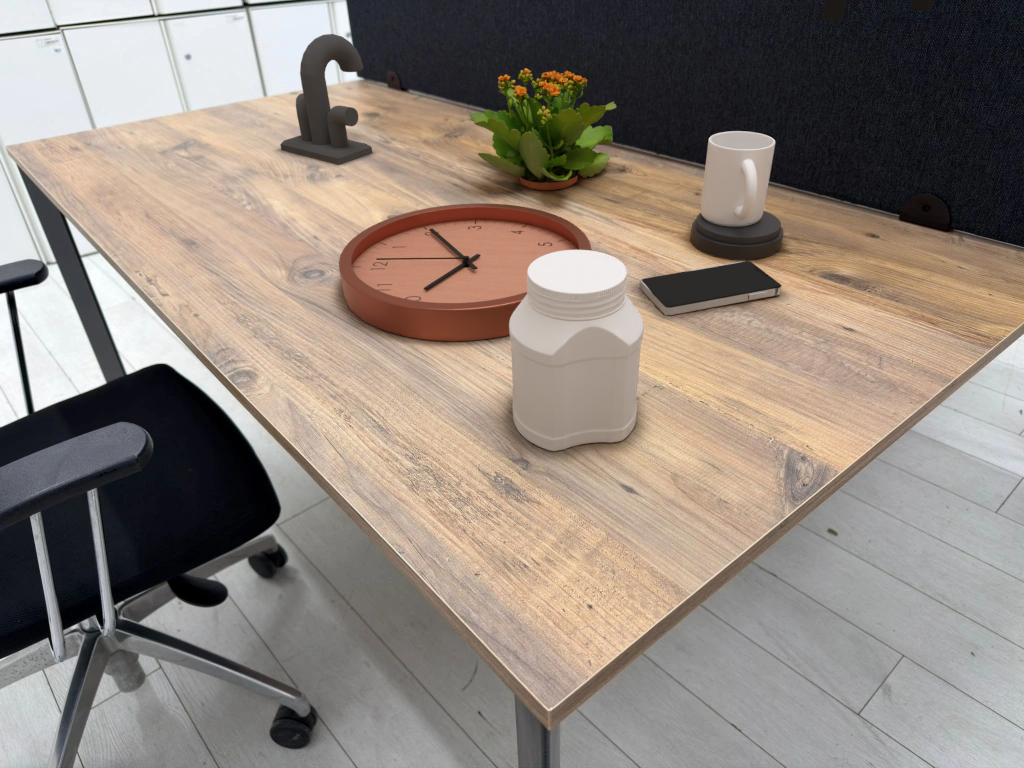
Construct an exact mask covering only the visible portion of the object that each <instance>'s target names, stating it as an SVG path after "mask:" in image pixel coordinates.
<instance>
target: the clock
mask: <svg viewBox="0 0 1024 768" xmlns="http://www.w3.org/2000/svg"><path fill="white" fill-rule="evenodd" d="M564 250H590V251H592V245H591V242H590V240H589V238H588V236H587V235H586V233H585V232H584V230H582V229H580V227H578V226H577V225H575V224H574V223H572V222H571V221H569V220H567V219H565V218H564V217H561V216H559V215H556V214H553V213H551V212H547V211H545V210H542V209H541V210H540V209H537V208H532V207H528V206H521V205H513V204H506V203H505V204H503V203H485V202H483V203H481V202H476V203H457V204H445V205H439V206H433V207H427V208H421V209H417V210H412V211H408V212H405V213H401V214H398V215H395V216H392V217H390V218H387V219H385V220H381V221H379V222H377V223H374V224H373V225H371V226H369V227H368V228H366V229H364V230H362V231H360V233H357V234H356V235H355V236H354V237H353V238H352V239H351V240H349V242H348V243H347V244H346V245H345V247H344V248H343V249H342V251H341V253H340V256H339V258H338V259H339V260H338V270H339V275H340V280H341V286H342V291H343V296H344V300H345V303H346V304H347V306H348V307H349V309H350V311H352V313H354V315H356V317H358V318H359V319H360V320H362V321H364V322H365V323H367V324H369V325H371V326H372V327H374V328H376V329H379V330H382V331H384V332H388V333H391V334H394V335H398V336H400V337H405V338H411V339H418V340H424V341H425V340H426V341H435V342H436V341H438V342H469V341H470V342H471V341H481V340H488V339H489V340H490V339H497V338H503V337H507V336H510V333H509V321H510V318H511V315H512V314H513V312H514V311H515V309H516V308H517V307H518V305H519V304H520V303H521V301H522V300H523V299H524V297H525V296H526V295H527V290H528V289H527V284H528V283H527V270H528V267H529V266H530V264H531V263H532V262H533V261H534V260H536V259H537V258H539V257H541V256H544V255H546V254H549V253H553V252H557V251H564Z"/></svg>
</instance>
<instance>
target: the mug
mask: <svg viewBox="0 0 1024 768" xmlns="http://www.w3.org/2000/svg"><path fill="white" fill-rule="evenodd" d="M775 147H776V140H775V139H774V138H773V137H771V136H769V135H767V134H764V133H760V132H755V131H743V130H732V131H723V132H718V133H714V134H712V135H710V137H708V141H707V148H706V157H705V167H704V173H703V183H702V190H701V200H700V213H701V214H702V216H703V217H704V219H706V220H707V221H709V222H711V223H713V224H716V225H721V226H727V227H743V226H749V225H752V224H754V223H756V222H758V221H759V220H760V219H761V217H762V215H763V211H765V206H766V201H767V200H766V199H767V194H768V188H769V182H770V177H771V171H772V165H773V159H774V154H775V149H776V148H775Z"/></svg>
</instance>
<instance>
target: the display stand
mask: <svg viewBox="0 0 1024 768" xmlns="http://www.w3.org/2000/svg"><path fill="white" fill-rule="evenodd" d="M689 238H690V243H691V245H692V246H693V247H694V248H695V249H697V251H700V252H701V253H704V254H706V255H709V256H711V257H715V258H720V259H724V260H725V259H726V260H732V261H753V260H761V259H765V258H768V257H771V256H774V255H775V254H777V253H778V252H779V251H780V250H781V247H782V243H783V238H784V227H782V223H781V220H780V218H778V217H777V216H775V215H774V214H772V213H771V212H768V211H765V210H764V211H763V215H762V217H761V219H760V220H759V221H758V222H756V223H754V224H752V225H749V226H743V227H727V226H721V225H716V224H713V223H711V222H709V221H707V220H706V219H704V217H703V216H702V214H701V212H700V213H699V214H698V215H697V216H696V219H694V221H693V222H692V223H691V230H690V237H689Z"/></svg>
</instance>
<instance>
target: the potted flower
mask: <svg viewBox="0 0 1024 768" xmlns="http://www.w3.org/2000/svg"><path fill="white" fill-rule="evenodd" d="M497 79H498V81H497V84H498V85H497V87H498V89H499V90H498V93H500V94H502V95H504V96H505V97H506V101H507V106H508V107H507V109H508V111H509V112H508V111H506V110H505V109H504V110H502V109H500V110H498V111H497V112H496V113H495V111H493V110H492V109H487V110H485V111H484V113H483V112H482V111H476V112H475V113H474V114H473V113H472V112H471V111H469V113H468V116H469V118H470V120H471V121H472V122H473V123H474V125H475V126H478V127H481V128H484V129H486V130H488V131H489V132H492V133H493V135H492V142H493V143H492V148H493V149H494V150H495V154H496V155H493V154H491V153H488V152H477V155H478V156H479V157H480V158H481V160H483V161H485V162H486V163H488V165H491V166H492V167H494V168H496V169H497V170H500V171H502V172H505V173H508V174H510V175H513V176H518V177H519V180H520V184H521V185H522V186H524V187H527V188H529V189H531V190H537V191H557V190H562V189H566V188H568V187H571V186H572V185H574V184H576V183H577V181H578V176H582V178H584V179H586V178H587V177H589V178H590V177H594V176H595V174H599V173H601V172H602V170H603V169H605V168H606V166H607V165H608V163H609V160H610V159H611V156H610V155H609V154H608V153H606V152H603V151H602V152H601V151H599V152H597V151H595V150H594V149H596V147H597V146H599V145H602V146H603V145H606V146H611V145H613V141H614V138H613V127H612V126H611V125H604V126H602V125H598V126H594V127H593V126H592V124H595V123H597V122H599V121H600V120H601V119H602V118H603V117H604V115H605V113H606V112H609V111H612V110H615V109H616V108H617V104H616V103H615V101H611V102H609V103H607V104H606V105H604V104H603V105H601V104H600V105H596V104H595V105H594V104H593V105H592V106H590V104H589V103H588V102H583V103H581V104H580V105H579V107H575V103H576V101H577V99H580V98H581V97H582V96H583V95H584V91H583V90H584V88H585V87H587V86H588V84H587V83H588V79H587V78H586V77H582V75H575V73H572V72H571V71H568V70H565V71H564V73H562V72H561V73H560V72H557V71H556V70H552V71H546V72H543V73H541V77H540V78H539V77H537V78H536V80H533V79H534V77H533V73H532V70H530V69H528V68H527V67H525V68H524V69H523V70H522V69H521V70H520V72H519V74H518V77H517V79H518V80H519V81H521V82H522V83H523V85H524V86H521V85H519V84H518V85H514V84H515V83H516V80H515V79H511V75H508V74H504V76H503V75H500V76H498V77H497ZM510 79H511V81H510ZM529 82H531V87H532V89H533V90H534V97H533V98H532V97H530V96H529V94H528V89H527V85H528V84H529ZM579 92H580V95H579V96H577V95H578V94H579ZM542 99H543V100H544V101H545V103H547V105H546V106H547V107H546V106H545V105H542V103H540V102H541V101H542ZM552 100H553V101H552ZM513 107H514V108H515V110H516V111H515V110H514V109H513ZM574 107H575V109H574Z"/></svg>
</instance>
